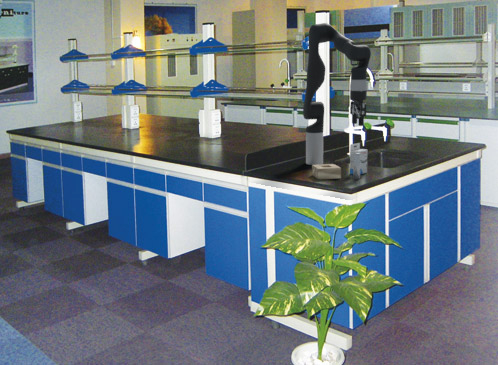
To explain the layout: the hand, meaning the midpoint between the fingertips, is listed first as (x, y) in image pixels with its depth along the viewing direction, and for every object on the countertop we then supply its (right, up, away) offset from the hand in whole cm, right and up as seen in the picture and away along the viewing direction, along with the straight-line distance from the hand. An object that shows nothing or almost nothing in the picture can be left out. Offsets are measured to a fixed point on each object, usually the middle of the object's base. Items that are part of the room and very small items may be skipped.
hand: (357, 124), depth 283 cm
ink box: (+3, -23, +17) cm, 28 cm away
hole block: (-13, -24, +11) cm, 30 cm away
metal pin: (0, -25, +5) cm, 26 cm away
